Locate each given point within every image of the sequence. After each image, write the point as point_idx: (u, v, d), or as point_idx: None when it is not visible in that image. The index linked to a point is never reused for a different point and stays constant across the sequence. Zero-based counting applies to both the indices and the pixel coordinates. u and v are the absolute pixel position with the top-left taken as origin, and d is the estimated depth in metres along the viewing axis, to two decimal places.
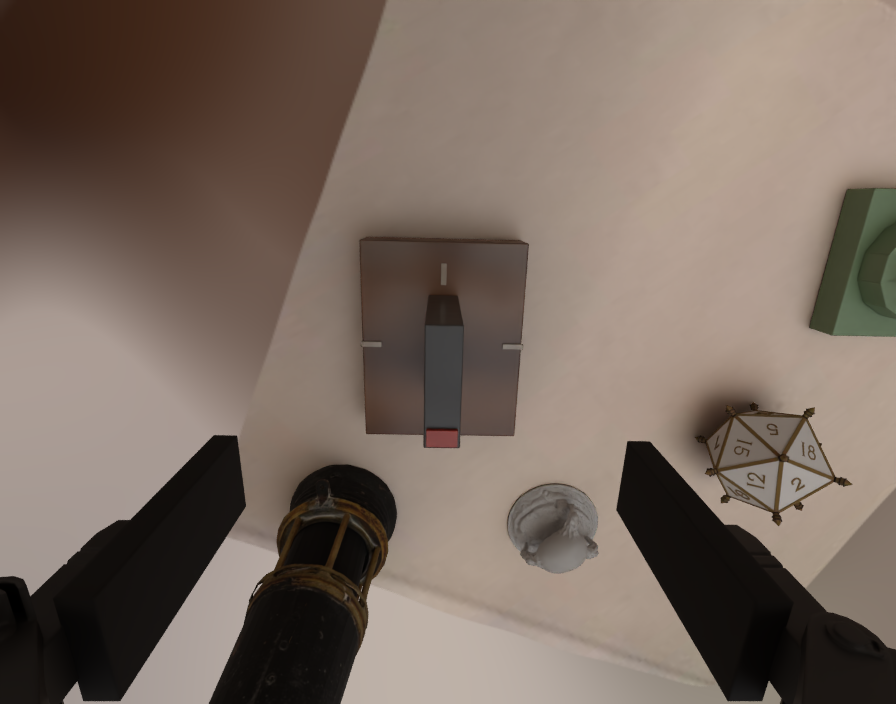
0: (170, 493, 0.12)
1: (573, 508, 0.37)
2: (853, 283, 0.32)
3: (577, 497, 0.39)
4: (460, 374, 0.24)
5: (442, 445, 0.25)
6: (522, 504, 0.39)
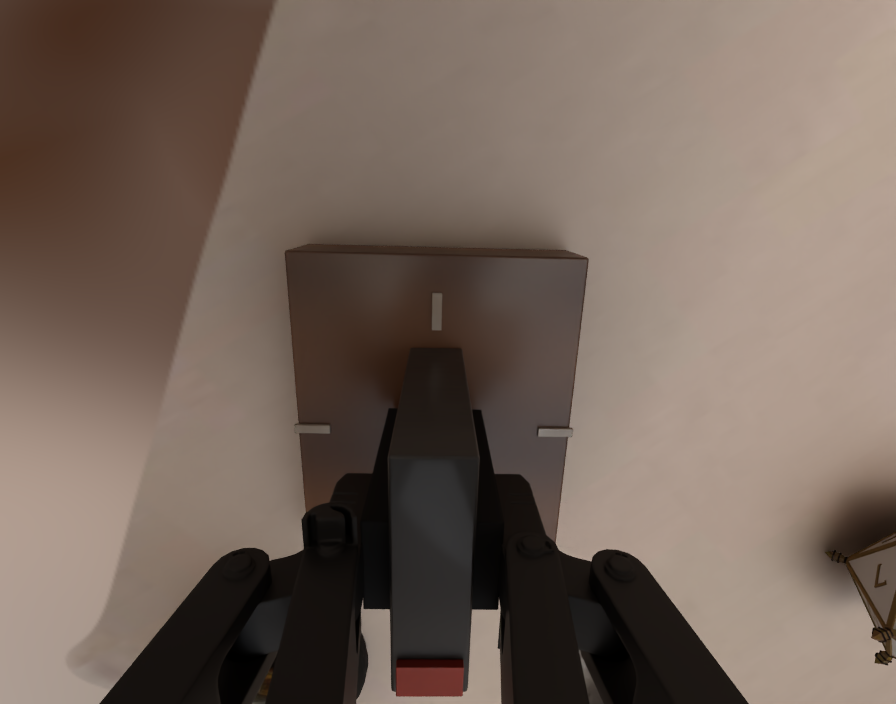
0: None
1: None
2: None
3: None
4: (470, 557, 0.11)
5: (431, 693, 0.12)
6: None
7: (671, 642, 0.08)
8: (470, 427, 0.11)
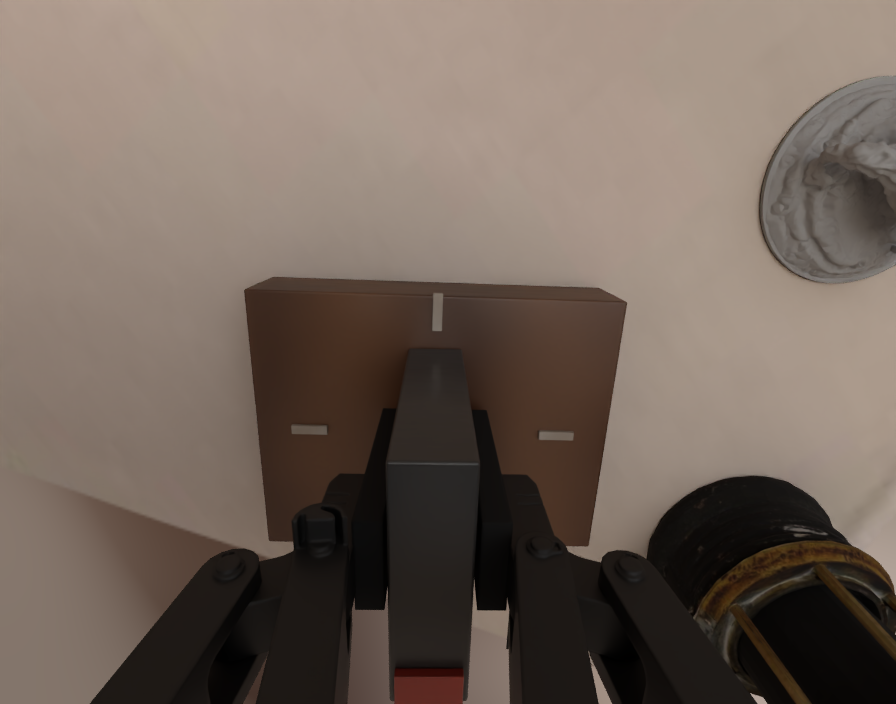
0: (382, 451, 0.14)
1: (834, 153, 0.16)
2: None
3: (808, 133, 0.18)
4: (470, 565, 0.10)
5: (430, 703, 0.11)
6: (794, 256, 0.19)
7: (681, 644, 0.08)
8: (470, 431, 0.11)
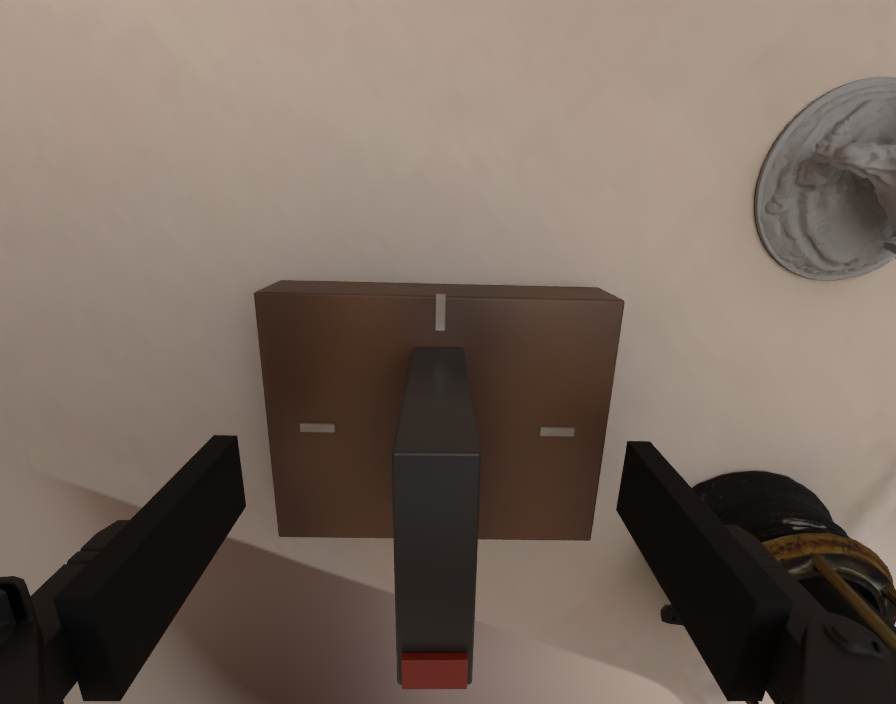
0: (170, 493, 0.12)
1: (825, 154, 0.16)
2: None
3: (800, 135, 0.18)
4: (473, 551, 0.11)
5: (436, 686, 0.12)
6: (789, 255, 0.19)
7: None
8: (472, 424, 0.11)
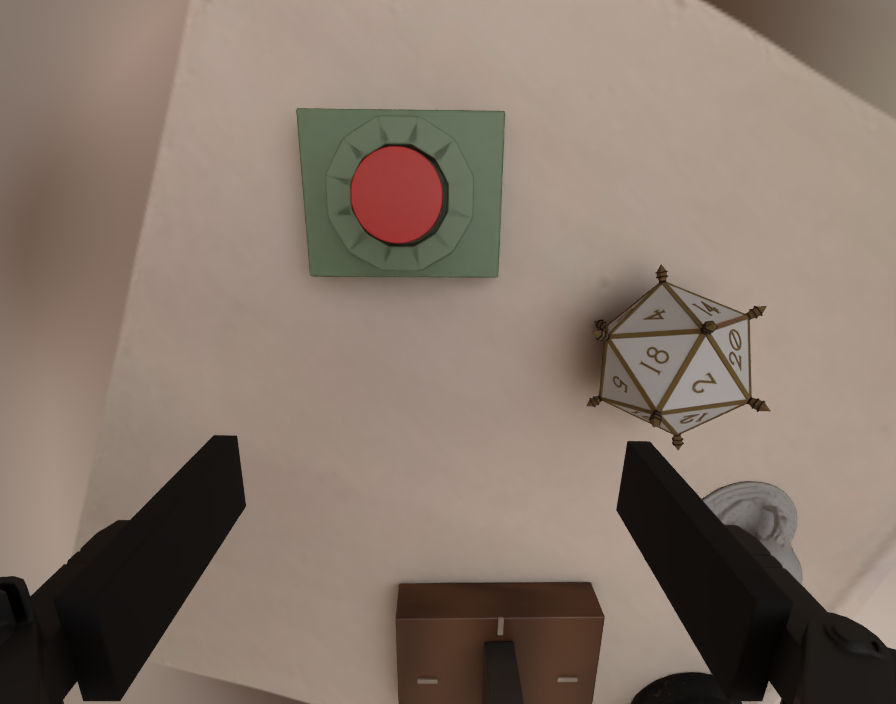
0: (170, 493, 0.12)
1: None
2: (427, 268, 0.24)
3: None
4: None
5: None
6: None
7: None
8: None
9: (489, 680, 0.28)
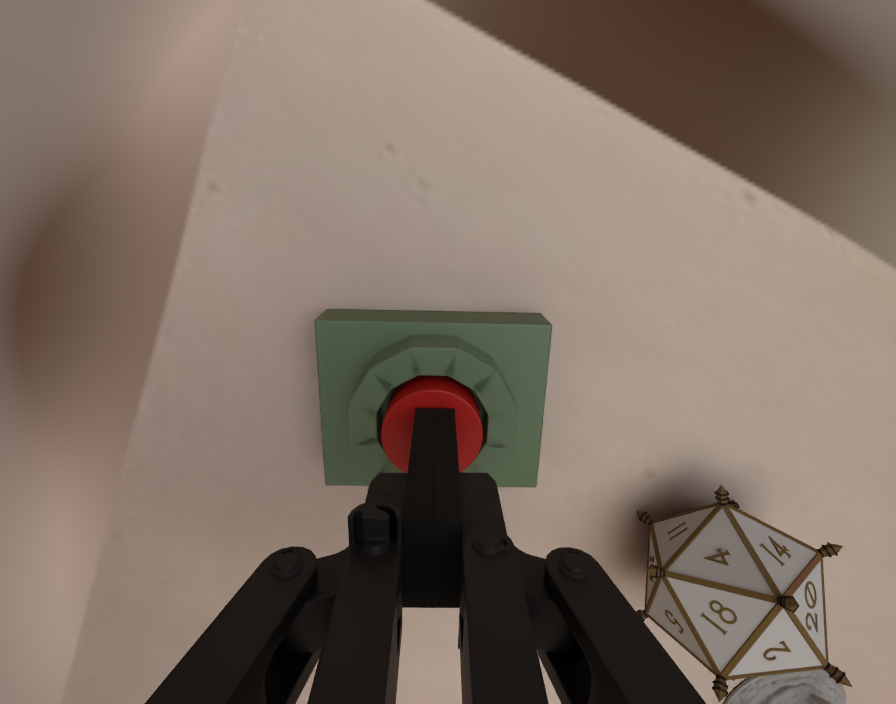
0: (421, 450, 0.14)
1: None
2: None
3: (747, 696, 0.29)
4: None
5: None
6: None
7: (624, 637, 0.08)
8: None
9: None
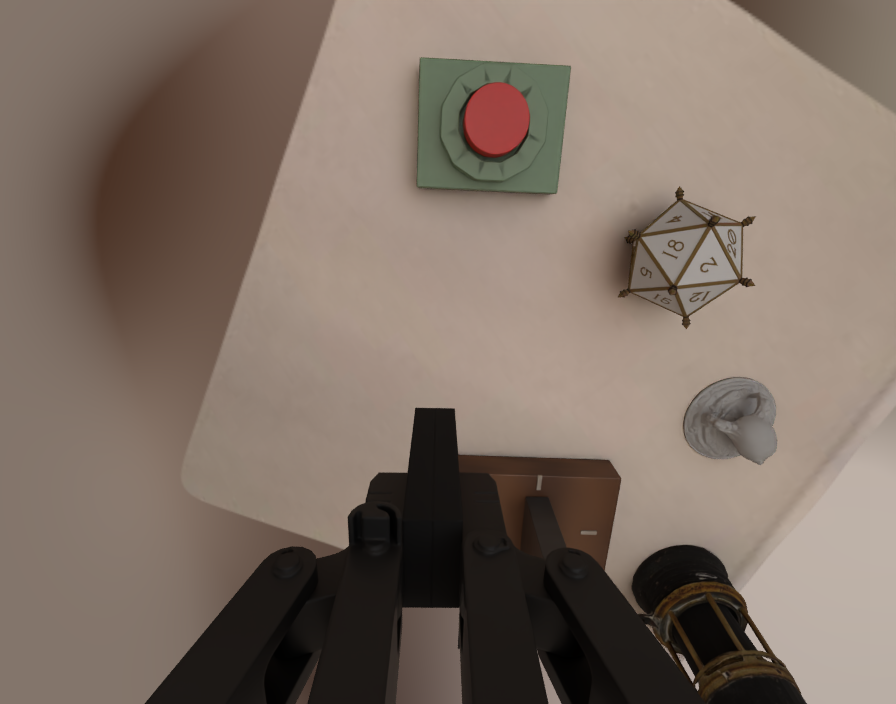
0: (422, 450, 0.14)
1: (709, 420, 0.38)
2: (504, 184, 0.32)
3: (702, 401, 0.40)
4: None
5: None
6: (700, 449, 0.41)
7: (624, 638, 0.08)
8: None
9: (532, 516, 0.37)
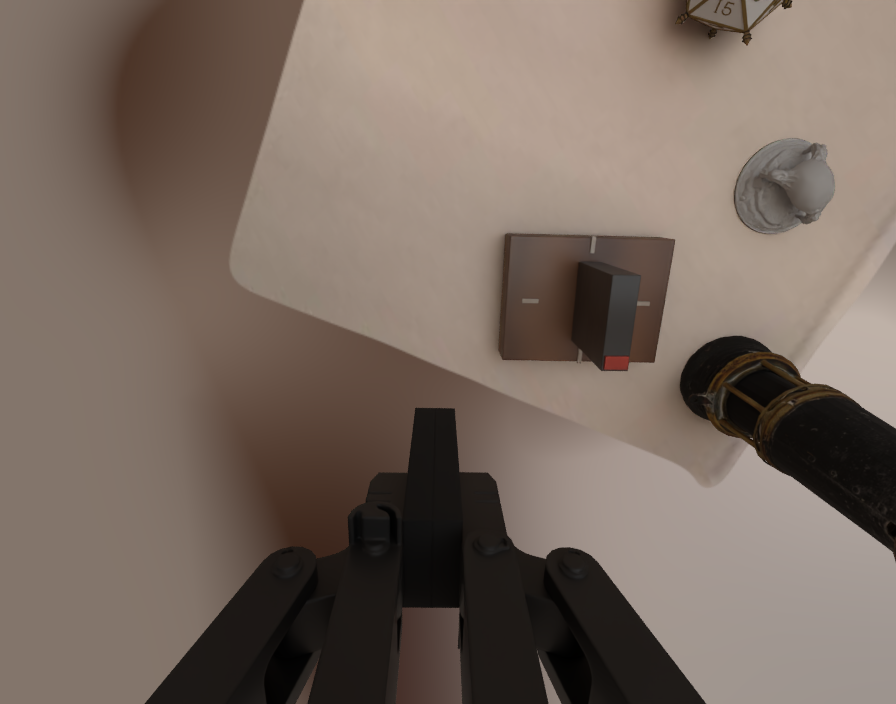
0: (422, 450, 0.14)
1: (764, 174, 0.38)
2: None
3: (755, 164, 0.39)
4: (634, 312, 0.32)
5: (616, 368, 0.33)
6: (751, 220, 0.41)
7: (624, 637, 0.08)
8: (631, 272, 0.33)
9: (589, 265, 0.36)
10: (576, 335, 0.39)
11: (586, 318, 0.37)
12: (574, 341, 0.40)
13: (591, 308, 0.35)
